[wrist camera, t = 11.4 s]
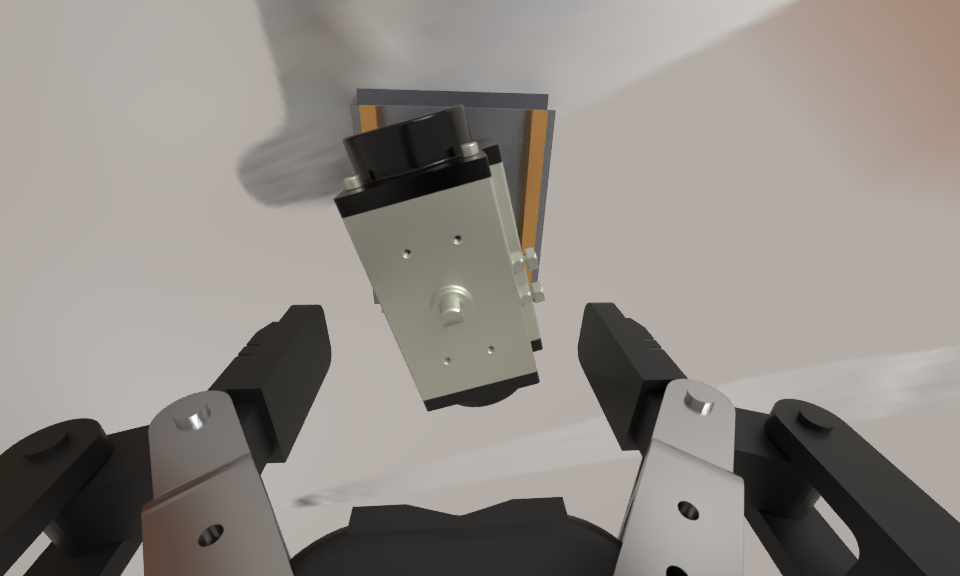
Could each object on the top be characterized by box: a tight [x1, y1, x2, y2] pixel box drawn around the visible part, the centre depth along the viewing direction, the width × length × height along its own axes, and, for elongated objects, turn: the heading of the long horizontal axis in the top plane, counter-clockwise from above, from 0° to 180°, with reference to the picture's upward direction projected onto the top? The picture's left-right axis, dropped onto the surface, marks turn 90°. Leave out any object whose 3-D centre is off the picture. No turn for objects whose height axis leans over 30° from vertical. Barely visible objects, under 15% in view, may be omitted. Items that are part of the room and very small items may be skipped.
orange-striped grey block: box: [351, 89, 555, 313], centre depth 26 cm, size 15×14×11 cm
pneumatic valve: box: [334, 105, 545, 411], centre depth 17 cm, size 6×12×12 cm, turn 14°
